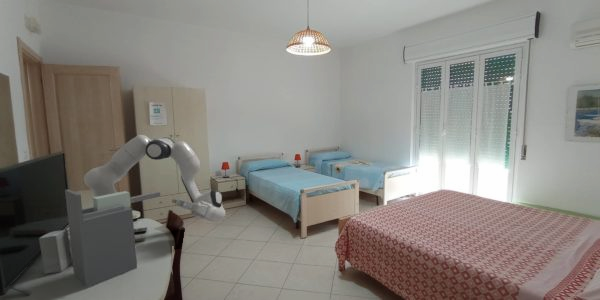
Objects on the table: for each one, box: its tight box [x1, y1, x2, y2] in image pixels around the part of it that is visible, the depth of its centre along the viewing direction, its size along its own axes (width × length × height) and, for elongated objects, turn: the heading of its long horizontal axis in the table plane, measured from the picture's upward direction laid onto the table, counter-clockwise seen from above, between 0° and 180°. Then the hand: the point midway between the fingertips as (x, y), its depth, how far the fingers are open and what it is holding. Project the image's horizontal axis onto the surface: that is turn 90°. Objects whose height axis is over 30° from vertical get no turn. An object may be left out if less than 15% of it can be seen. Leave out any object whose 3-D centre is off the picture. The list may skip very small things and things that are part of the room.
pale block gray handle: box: [92, 190, 161, 212], centre depth 123 cm, size 4×26×6 cm, turn 143°
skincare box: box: [38, 229, 73, 275], centre depth 120 cm, size 8×7×16 cm
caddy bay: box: [64, 189, 138, 289], centre depth 115 cm, size 14×18×36 cm
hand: (177, 202), depth 141 cm, fingers open, 8 cm apart
